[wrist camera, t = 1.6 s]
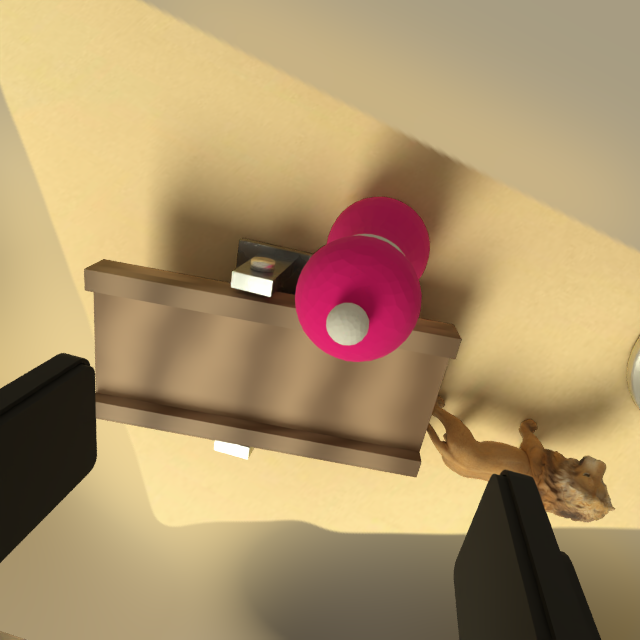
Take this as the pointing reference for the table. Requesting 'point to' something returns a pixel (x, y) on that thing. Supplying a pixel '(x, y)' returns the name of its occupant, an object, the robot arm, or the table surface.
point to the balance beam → (256, 371)
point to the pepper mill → (365, 281)
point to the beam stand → (263, 289)
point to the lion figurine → (527, 467)
